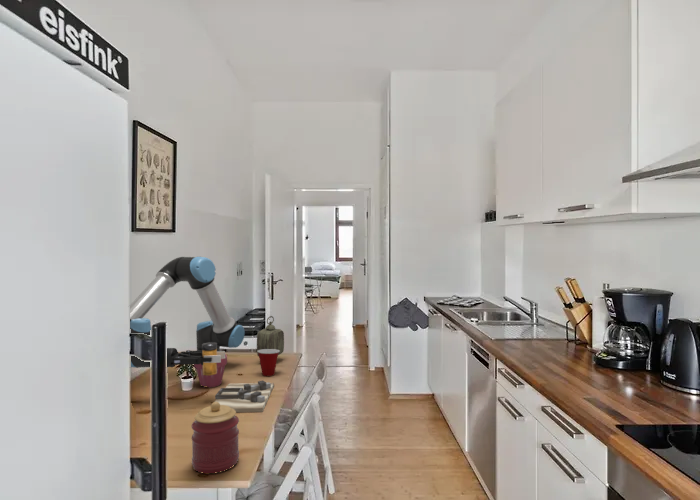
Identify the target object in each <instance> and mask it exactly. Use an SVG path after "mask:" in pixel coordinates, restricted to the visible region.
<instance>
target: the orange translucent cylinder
mask: <svg viewBox="0 0 700 500" xmlns="http://www.w3.org/2000/svg"><path fill="white" fill-rule="evenodd" d="M208 355H217V343H215V342H208V343H203V344H202V356H203V358H204V356H208ZM216 373H217V363H204V362H203V375H214V374H216Z"/></svg>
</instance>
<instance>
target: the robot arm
mask: <svg viewBox="0 0 700 500" xmlns="http://www.w3.org/2000/svg"><path fill="white" fill-rule="evenodd" d="M216 269H217V268H216V266H215V264H214V262H213V260H211V259H210V258H208V257H203V256H192V257H191V256H180V257H176V258H174V259H172V260H171V261H169V262H167V263H166V264H165V265H164V266H162V267H161V269H160V270H158V272H156V274H155V278H154V279H153V280H152V281H151V282H150V283H149V284H148V286H147V287H146V288H145V289H144V290H143V291H142V292H141V293H140V294H139V295H138V296H137V297H136V299H135V300H134V301H133V302H131V303H130V305H129V306H130V329H131V333H144V334H147V335H150V330H151V331H152V325H151V319H149V318H146V317H145V316H146V315H147V314H148V313H149V311H151V309H152V308H153V307H154V306H155V305H156V303H158V302H159V301H160V299H161V298H162V297H163V295H164V294H165V293H166V292H167V291H168V290H169V289H170V288H173V287H174V286H176V284H178V283H180V282H187V283H188V285H189V286H190V288H191V289H192V290H194V291H196V294H197V295H198V297H199V299H200V300H201V302H202V305H203V307H204V308H205V311H206V312H207V315H208V316H209V319H210V320H207V321H206V320H205V321H201V322H198V323H197V325H196V350H189V349H188V350H185V351H180V352H178V349H177V348H175V347H167V367H166V368H174V367H176V366H179V365H193V364H198V365H199V364H200V363H201V365H203V362H204V363H220V362H221V359H225V354H226V351H221V350H220V347H223V348H230V349H232V348H238V347H240V346H241V345H242V343H243V341H244V338H245V334H246V333H245V328H244V326H243V325H242V324H237V322H236V320H235V318H234V317H231V316H230V315H229V312H228V311H227V309H226V306H225V304H224V302H223V300H222V298H221V296H220V294H219V292H218V289H217V288H216V285H215V283H214V281H215V277H216V274H217V273H216ZM208 342H215V343H217V355H208V356H204V358H203V356H202V344H203V343H208ZM130 368H137V369H138V368H139V369H140V368H151V367H150V362H144V361H141V360H140V359H138V358H137V357H135V356H131V367H130Z"/></svg>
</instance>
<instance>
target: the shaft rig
mask: <svg viewBox="0 0 700 500" xmlns="http://www.w3.org/2000/svg"><path fill="white" fill-rule="evenodd" d="M274 387H275V383H274V382H267V381H265V380H264V379H263V380H258V381H257V382H253V383H252V382H251V383H249V382H247V383H245V382H244V383H242V382H241V383H228V384H227V385H226V387H221V388H219V390H218V391H217V393H216V394H215V395H214V396H215V398H214V399H215V401H214V402H219V404H220V405H226V406H229V407H230V408H232V409H234V410H235V411H236V414H237V413H263V412H264V410H265V407H266V405H267V403H268V400H269V399H270V396H271V393H272V391H273V389H274Z"/></svg>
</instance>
